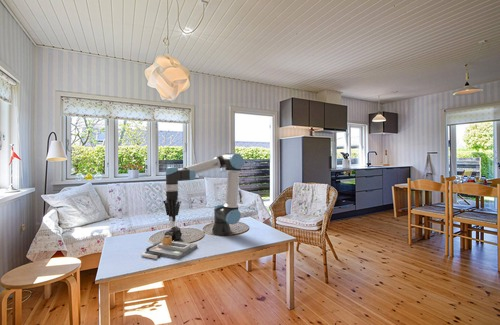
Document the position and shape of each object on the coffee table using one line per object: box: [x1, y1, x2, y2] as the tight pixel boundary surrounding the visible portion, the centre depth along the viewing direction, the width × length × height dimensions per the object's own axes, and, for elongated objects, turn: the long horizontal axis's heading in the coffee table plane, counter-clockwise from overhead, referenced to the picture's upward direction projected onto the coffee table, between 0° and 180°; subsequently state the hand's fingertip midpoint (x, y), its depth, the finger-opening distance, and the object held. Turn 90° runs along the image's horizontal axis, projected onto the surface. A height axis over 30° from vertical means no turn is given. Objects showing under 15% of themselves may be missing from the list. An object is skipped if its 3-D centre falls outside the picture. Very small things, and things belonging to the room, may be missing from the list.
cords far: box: [140, 251, 162, 260], centre depth 148 cm, size 12×5×2 cm, turn 69°
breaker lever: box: [161, 235, 172, 246], centre depth 160 cm, size 4×4×7 cm
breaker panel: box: [149, 240, 198, 260], centre depth 158 cm, size 20×22×4 cm
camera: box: [164, 225, 183, 241], centre depth 178 cm, size 13×10×10 cm
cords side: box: [145, 241, 162, 252], centre depth 162 cm, size 14×5×2 cm, turn 159°
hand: (172, 226), depth 158 cm, fingers closed
